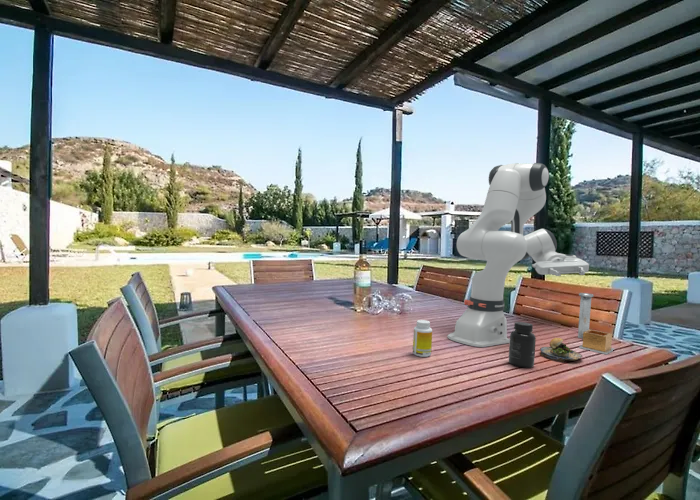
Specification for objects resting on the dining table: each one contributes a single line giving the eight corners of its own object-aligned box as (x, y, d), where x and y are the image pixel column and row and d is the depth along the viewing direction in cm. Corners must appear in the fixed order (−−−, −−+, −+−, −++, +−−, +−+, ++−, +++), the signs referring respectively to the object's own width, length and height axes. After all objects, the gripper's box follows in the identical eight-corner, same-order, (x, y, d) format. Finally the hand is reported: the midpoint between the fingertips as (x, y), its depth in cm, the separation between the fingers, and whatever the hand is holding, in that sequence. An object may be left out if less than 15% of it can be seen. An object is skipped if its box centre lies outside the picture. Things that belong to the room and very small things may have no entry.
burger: (566, 366, 109) (568, 341, 109) (531, 354, 120) (532, 331, 119) (590, 361, 115) (592, 337, 114) (554, 349, 125) (556, 328, 125)
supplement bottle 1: (434, 356, 113) (436, 322, 112) (419, 358, 110) (421, 324, 110) (423, 350, 118) (425, 318, 117) (408, 352, 115) (410, 319, 115)
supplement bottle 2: (538, 369, 105) (541, 327, 105) (514, 368, 105) (516, 326, 105) (527, 360, 112) (530, 321, 111) (504, 359, 112) (506, 320, 112)
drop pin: (587, 340, 138) (591, 295, 137) (574, 337, 141) (577, 293, 140) (592, 338, 141) (595, 294, 140) (578, 335, 144) (581, 292, 143)
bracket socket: (606, 354, 121) (607, 337, 121) (579, 348, 127) (580, 331, 127) (614, 350, 127) (615, 334, 126) (587, 344, 133) (588, 328, 132)
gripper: (530, 257, 164) (545, 267, 150) (578, 254, 163) (597, 264, 149) (529, 271, 165) (544, 282, 152) (577, 268, 164) (595, 279, 151)
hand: (570, 273), depth 151 cm, fingers open, 8 cm apart
